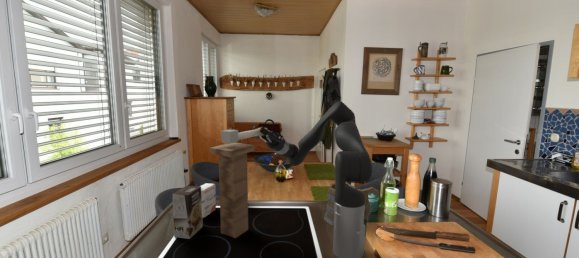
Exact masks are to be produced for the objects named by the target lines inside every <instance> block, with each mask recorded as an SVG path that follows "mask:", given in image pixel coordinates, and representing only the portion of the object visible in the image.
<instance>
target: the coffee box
mask: <svg viewBox="0 0 579 258" xmlns="http://www.w3.org/2000/svg"><path fill="white" fill-rule="evenodd" d="M171 198H172V214H173V215H172V216H173V237H174V238H180V239H186V240H190V239H191V238H193V237H194V236H195V235H196V234H197V233H198V232H199V231H200V230H201V229H202V228H203V227H204V226H203V225H204V224H203V218H202V195H201V187H200V186H198V185H186V186H184V187H181V188H180V189H178V190H176V191H175V192H173V193H172V197H171Z"/></svg>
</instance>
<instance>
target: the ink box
mask: <svg viewBox="0 0 579 258" xmlns="http://www.w3.org/2000/svg"><path fill="white" fill-rule="evenodd" d="M199 187H201V195H202V219H204V218H206V217H207V216H208V215H210V214H213V212H214V211H216V210H217V203H216V202H217V200H216V198H217V196H216V184H215V183H209V182H208V183H207V182H205V183H203V184H201V185H200V186H199Z"/></svg>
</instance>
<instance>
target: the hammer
mask: <svg viewBox="0 0 579 258" xmlns="http://www.w3.org/2000/svg"><path fill="white" fill-rule="evenodd" d="M260 128H261V127H258V128H256V129H255V130H253V129H252V130H245V131H240V132H239V129H224V130H221V131H220V133H221V143H224V144H229V143H239V141H241V140H245V139H249V138H253V137H254V138H255V136H258V135H259V136H262V135H264V134H262V133H261V132H260ZM264 128H265V129H266V130H268V128H267V127H264Z"/></svg>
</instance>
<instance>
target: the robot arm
mask: <svg viewBox="0 0 579 258" xmlns="http://www.w3.org/2000/svg"><path fill="white" fill-rule="evenodd" d="M330 120H331V121H332V122H333V123H334V124H335V125H336V128H335V129H334V139H335V143H336V146H337V147H338V149H340V150H339V151H338V152H337V153H336V155H335V158H334V159H335V160H334V177H335V179H334V182H335V205H334V226H333V239H332V241H333V242H332V253H333V255H334V256H335V257H336V258H362V257H363V256H364V253H365V243H366V242H365V241H366V224H365V218H364V212H365V209H366V208H365V195H364V194H363V193H362V192H361V191H359V190H357V189H358V188H352V187H350V186H349V185H347V184H348V182H350V183H352V182H354V183H363V182H368V181H369V180H370V179H371V178H372V175H373V162H372V159H371V157H370V153H368V150H367V149H366V147H365V146H364V143H363V141H362V137H361V133H360V131H359V128H358V126H357V123H356V115H355V113H354V111H353V110H352V109H351V108H350V107H349V106H347V105H346V103H344V102H343V101H339V100H338V101H336V102H335V103H333V104H332V105H331V107H329V109H328V110H327V111H326V112H325V113H324V114H323V116H322V117H320V119H319V120H318V121H317V123H316V124H315V125H314V126H313V127H312V128H311V129H310V131H308V132H307V134H305V135H304V136H303V137H302V138H301V139H299V141H298V143H297V145H296V144H295V143H290V142H289V141H288V140H287V139H286V138H285V137H284V135H282V134H281V133H278V132H276V131H274V130H269V129H267V130H266V129H265V128H266V127H264V126H260V127H258V126H255V125H254V126H253V127H252V130H255V129H256V128H260V132H261V133H262V134H264V135H262V136H259V135H258V136H254V138H255V139H256V140H259V139H261V140H262V141H263V142H265V144H266V147H267V148H268V149H270V150H271V151H273V152H274V153H276V154H279V155H280V156H281V157H284V158H287V161H288V163H289V165H291V166H292V167H297V166H299V165H302V163H303V162H304V160H305V159H306V157H307V156H308V154H309V153H310V151H311V150H313V149H314V148H315V147H316V146H317V145H318V144H319V143H320V141H321V140H322V137H323V132H324V129H325V127H326V125H327V123H328V122H329V121H330ZM346 183H347V184H346Z"/></svg>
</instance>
